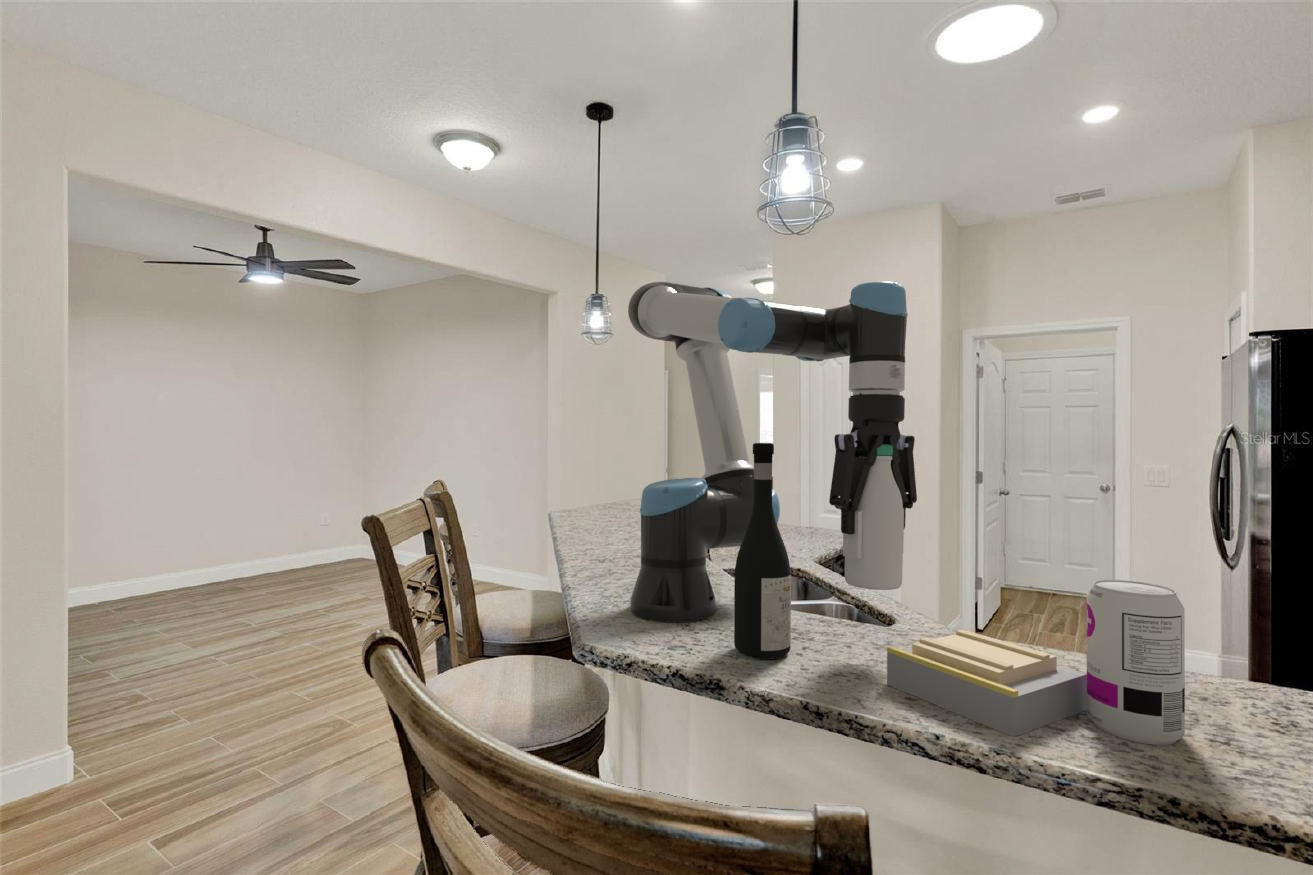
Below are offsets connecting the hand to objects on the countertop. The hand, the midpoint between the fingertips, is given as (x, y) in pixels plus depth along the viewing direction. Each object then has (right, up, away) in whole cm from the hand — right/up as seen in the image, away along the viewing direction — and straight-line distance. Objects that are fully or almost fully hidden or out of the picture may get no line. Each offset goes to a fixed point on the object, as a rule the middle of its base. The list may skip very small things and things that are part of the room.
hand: (873, 554), depth 89 cm
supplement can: (+19, -14, -23) cm, 33 cm away
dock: (+8, -14, -15) cm, 22 cm away
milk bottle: (0, -4, 0) cm, 4 cm away
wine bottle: (-16, -14, +1) cm, 21 cm away
